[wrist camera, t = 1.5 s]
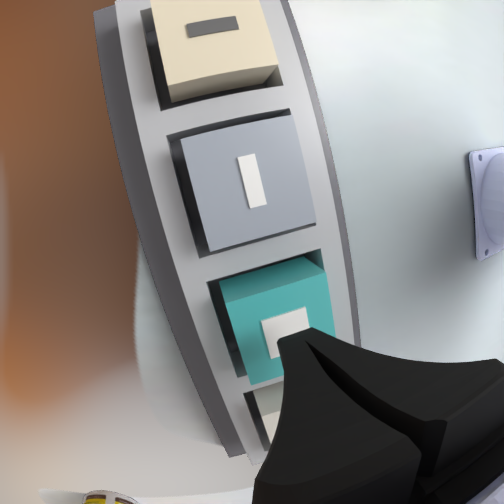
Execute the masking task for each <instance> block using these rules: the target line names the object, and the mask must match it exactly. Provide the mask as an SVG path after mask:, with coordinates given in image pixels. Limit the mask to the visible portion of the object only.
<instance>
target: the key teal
mask: <svg viewBox="0 0 504 504" xmlns="http://www.w3.org/2000/svg"><path fill="white" fill-rule="evenodd" d="M219 284H220V288H221V291H222V294H223V298H224V301H225V304H226V308H227V311H228V314H229V318H230V321H231V324H232V327H233V331H234V334H235V337H236V340H237V344H238V347H239V350H240V353H241V356H242V359H243V362H244V366H245V369H246V372H247V375H248V378H249V381H250V384H251V386H252V385H255V384H258V383H261V382H264V381H268V380H271V379H274V378H277V377H280V376H283V375H284V371H283V366H282V362H281V358H280V354H279V350H278V346H277V341H278V339H279V338H282V337H285V336H288V335H291V334H294V333H296V332H299V331H302V330H305V329H308V328H311V327H313V328H316V329H318V330H320V331H322V332H324V333H327V334H329V335H331V336H333V337H335V338H336V333H335V326H334V319H333V312H332V306H331V299H330V293H329V287H328V281H327V275H326V272H325V271H324V270H322V269H321V268H319V267H318V266H317V265H315V264H314V263H312V262H311V261H309V260H308V259H307V258H305V257H304V256H303V257H299V258H296V259H293V260H289V261H286V262H283V263H279V264H276V265H273V266H269V267H266V268H263V269H259V270H256V271H252V272H249V273H246V274H242V275H239V276H235V277H232V278H228V279H225V280H222V281H219Z"/></svg>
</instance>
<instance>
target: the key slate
mask: <svg viewBox="0 0 504 504" xmlns="http://www.w3.org/2000/svg"><path fill="white" fill-rule="evenodd" d="M180 140H181V144H182V148H183V152H184V156H185V160H186V164H187V168H188V172H189V175H190V179H191V183H192V187H193V191H194V195H195V198H196V202H197V206H198V210H199V213H200V217H201V221H202V224H203V228H204V232H205V235H206V239H207V242H208V246H209V249H210V252H211V251H215V250H218V249H222V248H225V247H229V246H233V245H236V244H240V243H243V242H247V241H250V240H254V239H257V238H261V237H264V236H268V235H272V234H275V233H279V232H282V231H286V230H290V229H293V228H297V227H300V226H304V225H308V224H311V223H315V222H317V220H316V215H315V210H314V205H313V200H312V195H311V191H310V186H309V181H308V177H307V172H306V168H305V163H304V159H303V155H302V150H301V146H300V142H299V138H298V134H297V130H296V126H295V122H294V118H293V115H288V116H282V117H276V118H271V119H266V120H260V121H255V122H250V123H245V124H241V125H236V126H232V127H227V128H223V129H218V130H214V131H210V132H206V133H202V134H198V135H194V136H190V137H187V138H183V139H180Z"/></svg>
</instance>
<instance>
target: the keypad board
mask: <svg viewBox="0 0 504 504" xmlns="http://www.w3.org/2000/svg"><path fill="white" fill-rule="evenodd" d="M259 2H260V5H261V8H262V11H263V14H264V17H265V20H266V23H267V26H268V29H269V33H270V36H271V39H272V42H273V46H274V49H275V52H276V56H277V59H278V63H279V65H278V66H277V67H276V69H275V70H274V71H273V72H272V73H271V75H270V76H269V77H268V78H267V79H266V81H265V82H264V83H263V84H257V85H251V86H246V87H240V88H235V89H230V90H225V91H220V92H215V93H211V94H206V95H202V96H197V97H193V98H189V99H185V100H181V101H177V102H174V103H172V102H171V98H170V93H169V89H168V84H167V80H166V75H165V71H164V66H163V62H162V57H161V52H160V48H159V43H158V38H157V33H156V28H155V23H154V18H153V13H152V8H151V3H150V0H117V1H115V5H112V6H109V7H106V8H103V9H100V10H97V11H95V12H93V15H94V24H95V33H96V41H97V49H98V56H99V62H100V69H101V75H102V81H103V87H104V93H105V98H106V103H107V109H108V114H109V119H110V124H111V128H112V133H113V137H114V142H115V146H116V150H117V155H118V159H119V163H120V167H121V171H122V175H123V179H124V183H125V187H126V191H127V194H128V198H129V202H130V205H131V209H132V212H133V216H134V219H135V223H136V226H137V229H138V233H139V236H140V239H141V243H142V246H143V249H144V252H145V255H146V258H147V261H148V264H149V267H150V270H151V273H152V276H153V279H154V282H155V285H156V288H157V291H158V294H159V296H160V299H161V302H162V305H163V307H164V310H165V313H166V316H167V318H168V321H169V323H170V326H171V329H172V331H173V334H174V336H175V339H176V341H177V344H178V346H179V349H180V351H181V354H182V356H183V359H184V361H185V364H186V366H187V368H188V371H189V373H190V375H191V378H192V380H193V382H194V385H195V387H196V389H197V391H198V394H199V396H200V398H201V400H202V402H203V405H204V407H205V409H206V411H207V413H208V415H209V417H210V419H211V422H212V424H213V426H214V428H215V430H216V432H217V434H218V436H219V438H220V440H221V442H222V444H223V446H224V448H225V450H226V452H227V454H228V456H229V457H233V456H238V455H242V454H245V453H247V456H248V458H249V460H250V462H251V464H252V465H255V464H259V463H262V462H264V460H265V458H266V456H267V454H268V451H269V449H270V446H271V443H270V440H269V437H268V434H267V431H266V429H265V426H264V423H263V420H262V417H261V414H260V411H259V408H258V405H257V402H256V399H255V396H254V393H253V390H255V389H258V388H262V387H265V386H268V385H271V384H274V383H277V382H280V381H283V380H284V375H283V376H280V377H277V378H274V379H271V380H268V381H264V382H261V383H258V384H255V385H252V386H251V384H250V381H249V378H248V375H247V372H246V369H245V366H244V362H243V359H242V356H241V353H240V350H239V347H238V344H237V340H236V337H235V334H234V331H233V327H232V324H231V321H230V318H229V314H228V311H227V308H226V304H225V301H224V298H223V294H222V291H221V288H220V284H219V281H222V280H225V279H228V278H232V277H235V276H239V275H242V274H246V273H249V272H252V271H256V270H259V269H263V268H266V267H269V266H273V265H276V264H279V263H283V262H286V261H289V260H293V259H296V258H299V257H303V256H304V257H305V258H307V259H308V260H309V261H311V262H312V263H314V264H315V265H317V266H318V267H319V268H321V269H322V270H324V271H325V272H326V275H327V281H328V287H329V293H330V299H331V306H332V312H333V319H334V326H335V333H336V338H338V339H340V340H342V341H345V342H347V343H350V344H352V345H355V346H358V347H360V348H361V340H360V329H359V319H358V309H357V300H356V292H355V284H354V276H353V269H352V262H351V255H350V248H349V242H348V235H347V229H346V223H345V218H344V212H343V206H342V201H341V196H340V190H339V185H338V180H337V175H336V171H335V166H334V161H333V157H332V152H331V148H330V143H329V139H328V135H327V131H326V127H325V122H324V118H323V114H322V111H321V107H320V103H319V99H318V95H317V92H316V88H315V84H314V81H313V77H312V74H311V70H310V67H309V64H308V60H307V57H306V54H305V51H304V47H303V44H302V41H301V38H300V35H299V32H298V29H297V26H296V23H295V20H294V17H293V14H292V11H291V8H290V6H289V3H288V0H259ZM288 115H293V118H294V122H295V126H296V130H297V134H298V138H299V142H300V146H301V150H302V155H303V159H304V163H305V168H306V172H307V177H308V181H309V186H310V191H311V195H312V200H313V205H314V210H315V215H316V220H317V222H315V223H311V224H308V225H304V226H300V227H297V228H293V229H290V230H286V231H282V232H279V233H275V234H272V235H268V236H264V237H261V238H257V239H254V240H250V241H247V242H243V243H240V244H236V245H233V246H229V247H225V248H222V249H218V250H215V251H211V252H210V249H209V246H208V242H207V239H206V235H205V232H204V228H203V224H202V221H201V217H200V213H199V210H198V206H197V202H196V198H195V195H194V191H193V187H192V183H191V179H190V175H189V172H188V168H187V164H186V160H185V156H184V152H183V148H182V144H181V140H180V139H183V138H187V137H190V136H194V135H198V134H202V133H206V132H210V131H214V130H218V129H223V128H227V127H232V126H236V125H241V124H245V123H250V122H255V121H260V120H266V119H271V118H276V117H282V116H288Z"/></svg>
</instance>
